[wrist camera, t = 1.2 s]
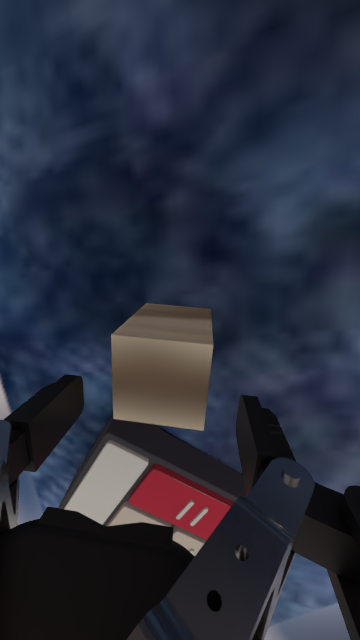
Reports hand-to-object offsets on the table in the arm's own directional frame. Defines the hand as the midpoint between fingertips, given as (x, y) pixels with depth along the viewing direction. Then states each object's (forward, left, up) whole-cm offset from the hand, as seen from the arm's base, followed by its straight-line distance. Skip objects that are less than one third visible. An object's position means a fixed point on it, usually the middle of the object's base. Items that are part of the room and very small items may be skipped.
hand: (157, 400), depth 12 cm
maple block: (-1, 0, -8) cm, 8 cm away
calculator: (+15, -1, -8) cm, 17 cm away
